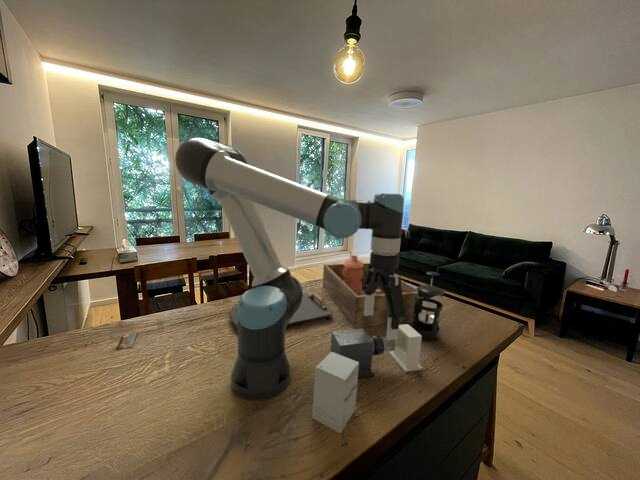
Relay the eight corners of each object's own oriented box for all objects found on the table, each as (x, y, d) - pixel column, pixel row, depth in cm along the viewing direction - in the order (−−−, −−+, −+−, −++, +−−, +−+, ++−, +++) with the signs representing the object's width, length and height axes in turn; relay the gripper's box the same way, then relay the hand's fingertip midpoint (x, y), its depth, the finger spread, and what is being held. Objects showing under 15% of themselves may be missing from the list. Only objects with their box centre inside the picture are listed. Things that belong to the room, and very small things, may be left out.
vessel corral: (353, 327, 100) (356, 297, 98) (322, 287, 139) (323, 264, 137) (418, 321, 107) (422, 292, 105) (371, 284, 146) (373, 263, 144)
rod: (342, 363, 73) (343, 346, 72) (335, 352, 78) (336, 335, 77) (395, 356, 77) (397, 339, 76) (386, 346, 82) (387, 330, 81)
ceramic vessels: (413, 317, 111) (419, 273, 107) (371, 327, 101) (376, 278, 98) (363, 287, 141) (366, 252, 138) (327, 293, 132) (329, 255, 128)
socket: (405, 372, 77) (409, 339, 75) (389, 353, 85) (392, 323, 83) (422, 369, 78) (426, 337, 76) (404, 351, 87) (408, 322, 85)
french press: (446, 340, 94) (455, 277, 90) (423, 344, 92) (431, 278, 87) (424, 324, 105) (431, 266, 101) (403, 326, 103) (409, 267, 98)
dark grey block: (336, 382, 71) (338, 348, 69) (326, 361, 80) (328, 330, 78) (374, 376, 74) (377, 343, 72) (361, 357, 83) (363, 326, 81)
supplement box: (341, 435, 56) (345, 380, 54) (311, 418, 60) (313, 366, 58) (356, 411, 62) (360, 361, 60) (328, 397, 66) (330, 350, 64)
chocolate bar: (122, 334, 89) (122, 332, 89) (140, 332, 91) (139, 330, 91) (113, 353, 79) (113, 351, 79) (133, 350, 81) (133, 348, 81)
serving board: (238, 342, 88) (238, 324, 87) (225, 312, 108) (225, 297, 107) (339, 319, 107) (340, 304, 105) (312, 297, 126) (313, 285, 125)
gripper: (426, 264, 62) (417, 349, 66) (376, 242, 85) (371, 306, 89) (397, 265, 60) (389, 353, 64) (353, 243, 83) (350, 308, 87)
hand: (379, 326), depth 77 cm, fingers open, 13 cm apart
